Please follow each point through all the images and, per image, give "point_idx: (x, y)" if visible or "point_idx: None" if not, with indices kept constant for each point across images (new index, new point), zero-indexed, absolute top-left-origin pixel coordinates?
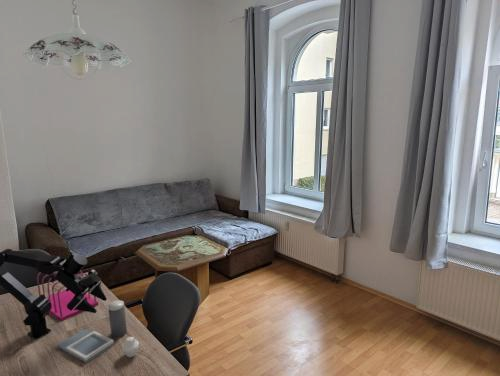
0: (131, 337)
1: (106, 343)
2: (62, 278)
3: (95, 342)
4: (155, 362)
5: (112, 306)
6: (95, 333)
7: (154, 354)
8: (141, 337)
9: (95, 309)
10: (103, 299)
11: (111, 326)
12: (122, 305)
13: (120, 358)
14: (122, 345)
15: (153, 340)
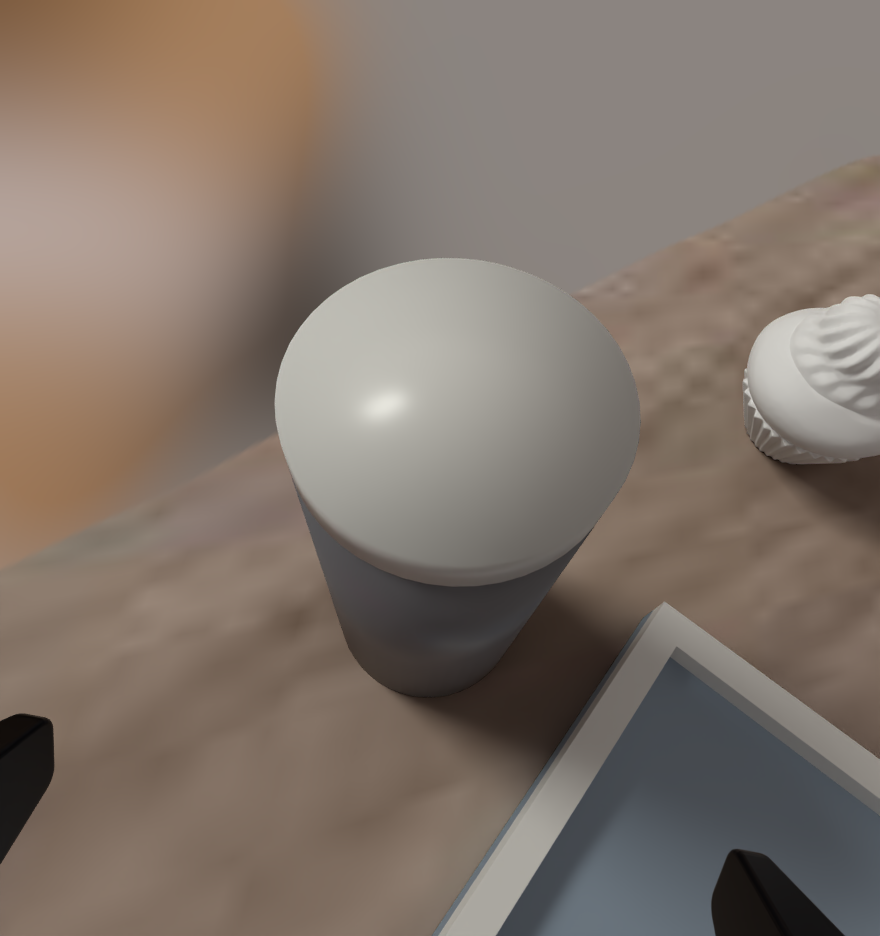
0: (874, 309)
1: (732, 672)
2: None
3: (651, 858)
4: (854, 265)
5: (559, 447)
6: (500, 914)
7: (767, 275)
8: None
9: (771, 895)
10: (4, 829)
11: (515, 635)
12: (520, 276)
13: (847, 511)
14: (876, 437)
15: (590, 291)
